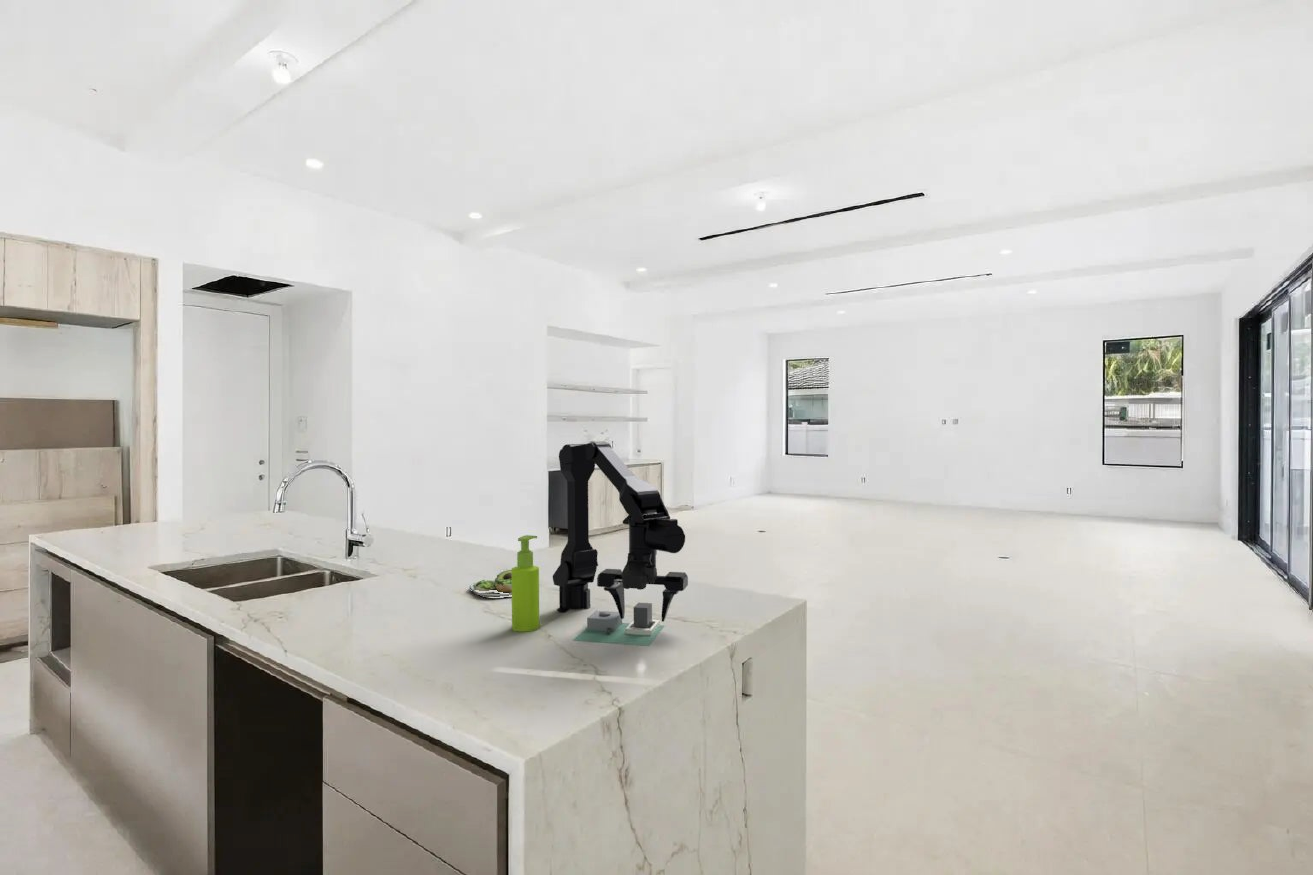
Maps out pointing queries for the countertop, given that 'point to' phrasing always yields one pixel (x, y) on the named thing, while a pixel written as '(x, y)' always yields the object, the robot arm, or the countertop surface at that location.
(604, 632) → the board
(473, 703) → the countertop surface
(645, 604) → the plug
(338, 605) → the countertop surface
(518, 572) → the soap dispenser
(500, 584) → the salad plate
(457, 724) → the countertop surface
